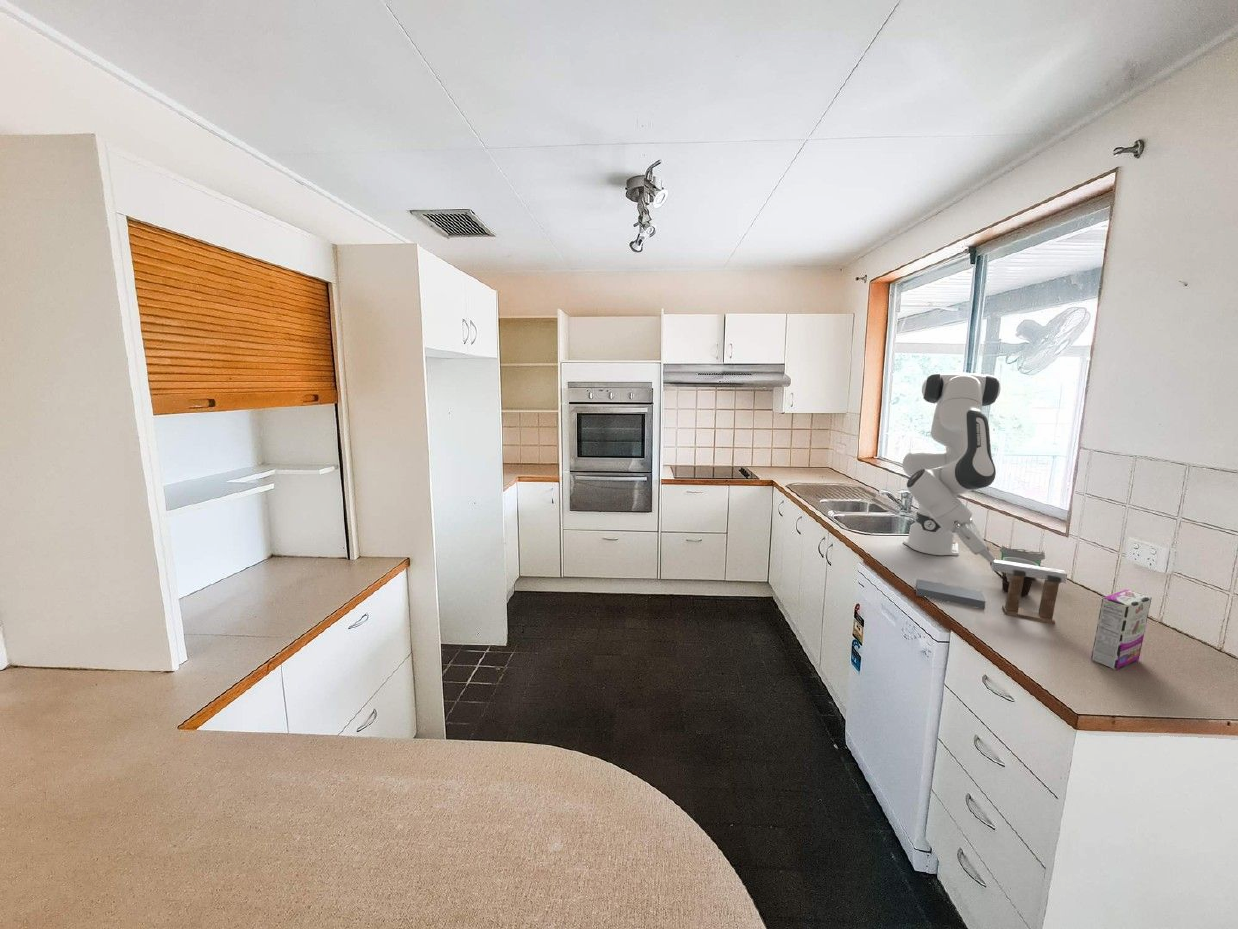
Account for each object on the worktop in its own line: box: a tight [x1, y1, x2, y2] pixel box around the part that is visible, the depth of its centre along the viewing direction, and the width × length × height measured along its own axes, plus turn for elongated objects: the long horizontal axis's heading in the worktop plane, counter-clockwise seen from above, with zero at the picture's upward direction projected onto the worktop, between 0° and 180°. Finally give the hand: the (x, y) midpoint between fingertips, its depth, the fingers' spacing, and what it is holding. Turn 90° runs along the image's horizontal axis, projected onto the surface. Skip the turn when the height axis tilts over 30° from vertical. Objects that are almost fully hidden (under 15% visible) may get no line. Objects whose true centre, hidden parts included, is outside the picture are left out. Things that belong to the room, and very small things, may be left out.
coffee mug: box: [989, 557, 1038, 598], centre depth 154 cm, size 12×9×10 cm
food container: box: [999, 544, 1046, 582], centre depth 163 cm, size 12×6×10 cm, turn 68°
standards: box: [1001, 571, 1062, 625], centre depth 137 cm, size 11×5×13 cm, turn 60°
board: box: [915, 578, 986, 610], centre depth 149 cm, size 17×8×2 cm, turn 60°
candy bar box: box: [1090, 589, 1153, 671], centre depth 115 cm, size 11×5×16 cm, turn 114°
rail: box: [990, 558, 1068, 584], centre depth 137 cm, size 16×3×3 cm, turn 60°
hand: (989, 555), depth 140 cm, fingers open, 8 cm apart
